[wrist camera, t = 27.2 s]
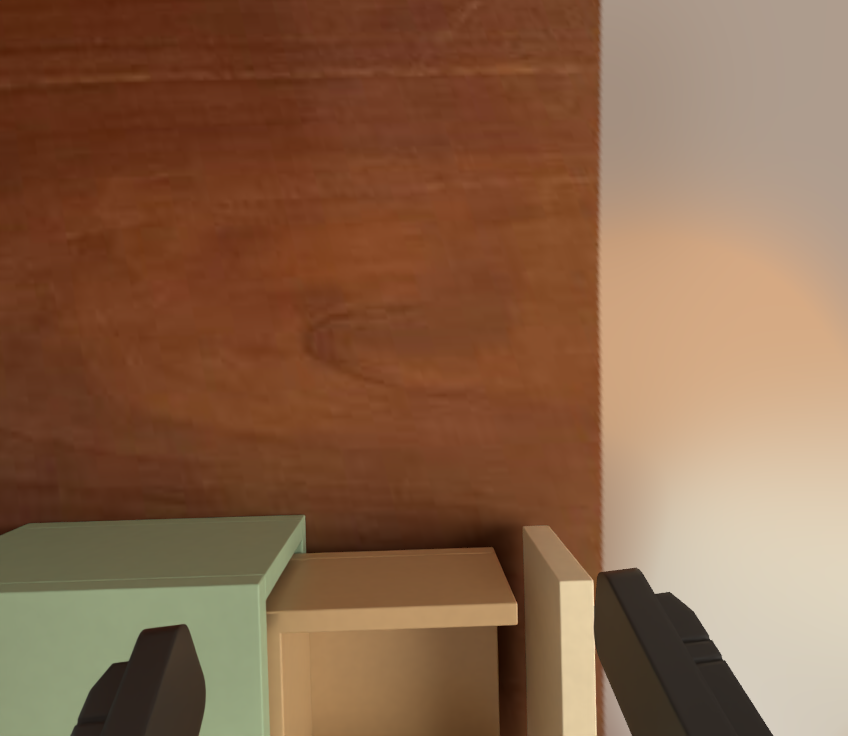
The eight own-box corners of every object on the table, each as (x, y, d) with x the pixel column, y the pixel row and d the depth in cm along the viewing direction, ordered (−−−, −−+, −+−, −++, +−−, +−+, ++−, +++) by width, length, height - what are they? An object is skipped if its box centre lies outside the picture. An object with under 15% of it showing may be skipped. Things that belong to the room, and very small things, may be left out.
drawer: (639, 522, 28) (714, 576, 21) (644, 750, 28) (719, 877, 21) (293, 533, 28) (254, 591, 21) (300, 764, 28) (264, 898, 21)
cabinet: (305, 514, 29) (258, 584, 20) (312, 763, 29) (270, 940, 20) (28, 522, 28) (-144, 598, 20) (38, 774, 29) (-128, 959, 20)
